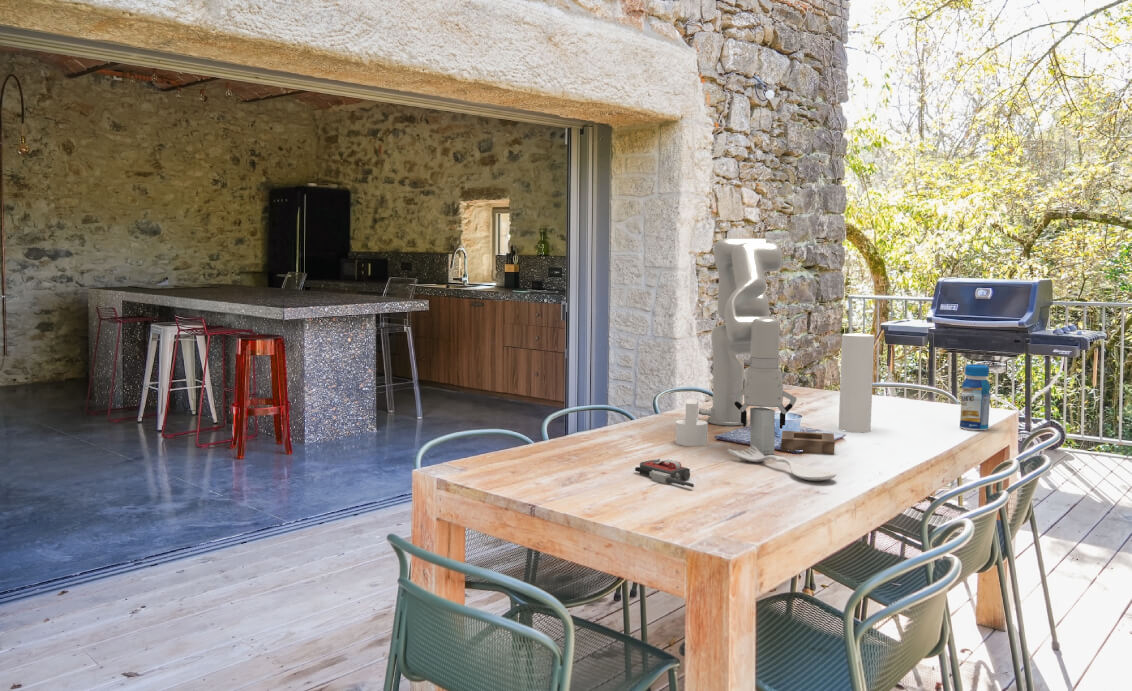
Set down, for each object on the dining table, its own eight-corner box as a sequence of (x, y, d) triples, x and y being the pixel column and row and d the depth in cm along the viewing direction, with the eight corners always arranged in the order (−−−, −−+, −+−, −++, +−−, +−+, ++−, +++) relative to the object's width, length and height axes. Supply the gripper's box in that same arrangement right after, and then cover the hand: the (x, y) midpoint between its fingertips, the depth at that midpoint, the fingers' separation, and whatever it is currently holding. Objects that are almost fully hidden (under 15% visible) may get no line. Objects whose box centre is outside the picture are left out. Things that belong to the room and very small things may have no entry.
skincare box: (775, 454, 238) (776, 409, 237) (760, 455, 236) (762, 410, 235) (762, 449, 244) (763, 406, 243) (748, 450, 242) (749, 407, 241)
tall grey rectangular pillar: (874, 432, 269) (878, 334, 266) (843, 432, 269) (847, 334, 266) (864, 427, 278) (868, 332, 275) (834, 426, 278) (838, 331, 275)
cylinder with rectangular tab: (676, 439, 257) (677, 398, 256) (707, 440, 256) (708, 399, 254) (674, 445, 249) (675, 403, 247) (706, 446, 247) (707, 404, 246)
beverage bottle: (993, 431, 272) (997, 367, 270) (966, 431, 272) (969, 367, 270) (981, 426, 281) (984, 364, 279) (954, 426, 281) (957, 363, 279)
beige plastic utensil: (752, 456, 236) (752, 444, 236) (844, 483, 208) (845, 469, 208) (726, 460, 232) (726, 447, 231) (816, 488, 204) (817, 473, 204)
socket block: (780, 451, 242) (781, 438, 241) (782, 442, 253) (782, 430, 253) (834, 454, 238) (834, 441, 238) (833, 445, 250) (833, 433, 249)
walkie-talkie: (628, 475, 215) (690, 492, 200) (628, 457, 214) (690, 473, 199) (653, 470, 220) (715, 486, 205) (653, 452, 220) (715, 467, 205)
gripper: (730, 364, 236) (729, 427, 238) (797, 366, 232) (795, 431, 233) (732, 361, 244) (731, 423, 245) (797, 363, 239) (796, 426, 240)
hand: (762, 426), depth 239 cm, fingers open, 9 cm apart
